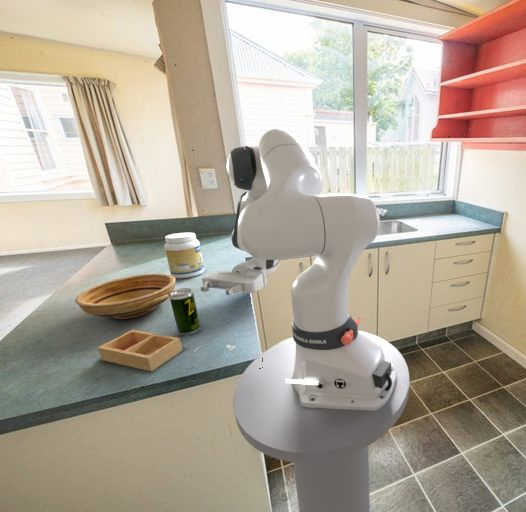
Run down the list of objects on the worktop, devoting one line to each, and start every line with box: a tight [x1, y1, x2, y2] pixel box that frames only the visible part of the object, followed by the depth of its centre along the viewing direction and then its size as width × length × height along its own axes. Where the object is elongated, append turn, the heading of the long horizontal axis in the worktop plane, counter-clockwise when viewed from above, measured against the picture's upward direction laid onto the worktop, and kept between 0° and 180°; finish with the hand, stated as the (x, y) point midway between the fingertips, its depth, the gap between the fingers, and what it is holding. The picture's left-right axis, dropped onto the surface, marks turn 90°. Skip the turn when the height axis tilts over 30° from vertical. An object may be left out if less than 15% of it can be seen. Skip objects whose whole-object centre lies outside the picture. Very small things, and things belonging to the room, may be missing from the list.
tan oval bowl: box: [74, 273, 177, 320], centre depth 94 cm, size 30×24×8 cm
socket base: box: [97, 329, 183, 372], centre depth 73 cm, size 15×8×4 cm, turn 75°
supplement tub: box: [163, 232, 206, 279], centre depth 123 cm, size 12×12×17 cm
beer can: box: [169, 287, 201, 336], centre depth 82 cm, size 5×5×12 cm
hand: (214, 291), depth 91 cm, fingers open, 8 cm apart
